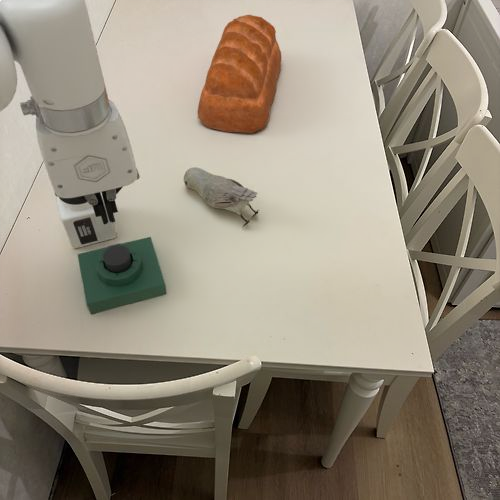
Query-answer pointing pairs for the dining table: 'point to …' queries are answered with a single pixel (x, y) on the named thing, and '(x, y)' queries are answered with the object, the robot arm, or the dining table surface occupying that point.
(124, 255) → the dark grey push button
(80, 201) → the container
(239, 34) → the bread
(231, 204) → the decorative bird
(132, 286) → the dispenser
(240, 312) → the dining table surface
